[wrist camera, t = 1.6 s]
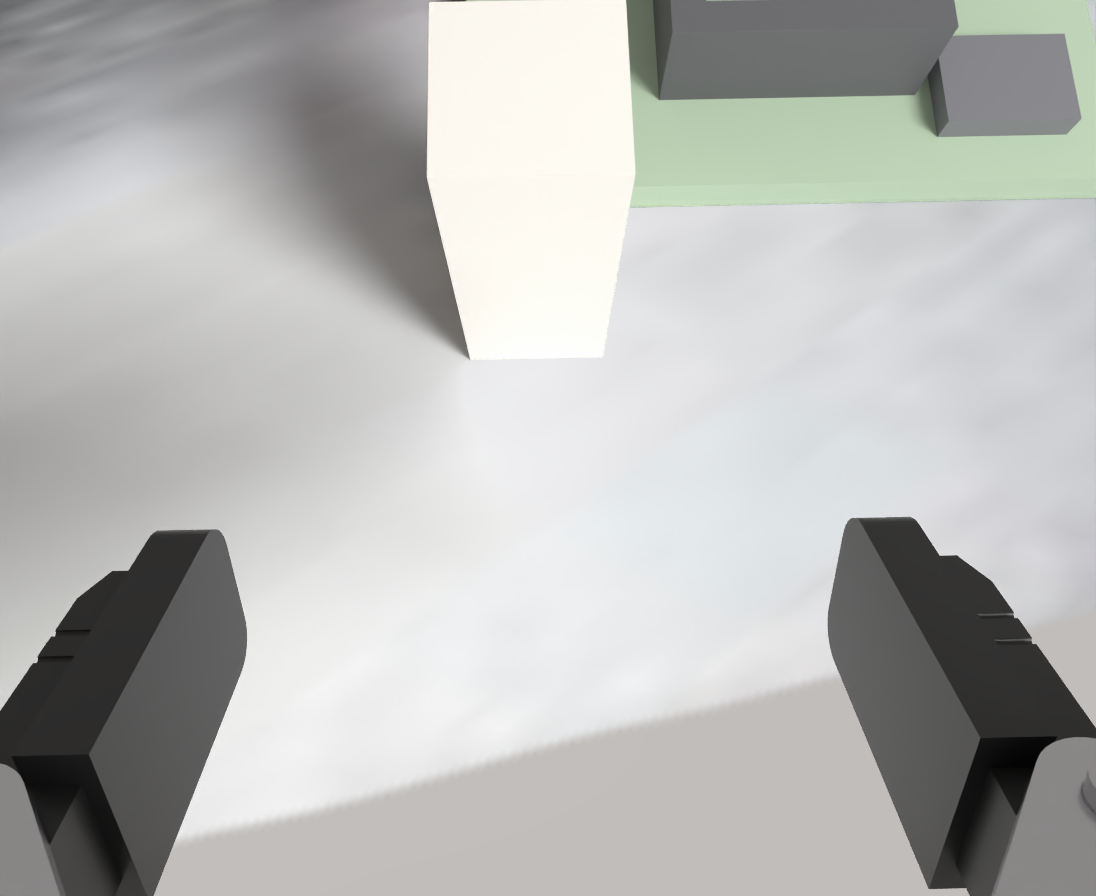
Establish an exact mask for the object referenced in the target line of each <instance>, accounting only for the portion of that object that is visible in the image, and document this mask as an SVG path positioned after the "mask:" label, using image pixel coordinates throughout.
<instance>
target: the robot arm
mask: <svg viewBox="0 0 1096 896" xmlns="http://www.w3.org/2000/svg"><path fill="white" fill-rule="evenodd" d="M1013 613H1014V612H1013V611H1012V609H1011V608H1010V606H1009V605H1008V603H1007V602H1006V601H1005V599H1004V598H1003V596H1002V595H1001V594H1000V592H999V591H998V589H997V588H996V587H995V585H994V584H993V582H992V581H991V580H989V579H988V578H987V577H985V576H984V575H982V574H981V573H980V572H978V571H977V570H976V569H974V568H973V567H972V566H970V565H969V564H968V563H966V562H965V561H964V560H962V559H961V558H960V557H958V556H957V555H955V556H939V554H938V553H937V551H936V550H935V548H934V546H933V545H932V543H931V542H930V540H929V539H928V537H927V536H926V534H925V533H924V531H923V530H922V528H921V527H920V525H919V524H918V522H917V521H916V520H915V519H913V518H911V517H886V518H852V519H850V520H849V521H848V522H847V524H846V526H845V529H844V533H843V538H842V543H841V548H840V553H839V558H838V563H837V569H836V574H835V579H834V584H833V589H832V594H831V599H830V605H829V611H828V636H829V643H830V648H831V652H832V656H833V659H834V661H835V664H836V666H837V669H838V671H839V673H840V676H841V678H842V681H843V683H844V686H845V688H846V690H847V693H848V695H849V698H850V700H851V702H852V705H853V707H854V710H855V712H856V714H857V717H858V719H859V722H860V724H861V727H862V729H863V731H864V734H865V736H866V739H867V741H868V743H869V746H870V748H871V751H872V753H873V756H874V758H875V760H876V763H877V765H878V768H879V770H880V772H881V775H882V777H883V779H884V782H885V784H886V787H887V789H888V791H889V794H890V796H891V799H892V801H893V804H894V806H895V808H896V811H897V813H898V816H899V818H900V821H901V823H902V825H903V828H904V830H905V833H906V835H907V837H908V840H909V842H910V845H911V847H912V850H913V852H914V854H915V857H916V859H917V862H918V864H919V866H920V869H921V871H922V874H923V876H924V879H925V881H926V883H927V886H928V888H929V889H945V888H946V889H947V888H967V891H968V893H969V895H970V896H1096V728H1095V726H1094V725H1093V724H1092V722H1091V721H1090V719H1089V718H1088V716H1087V715H1086V714H1085V712H1084V711H1083V709H1082V708H1081V707H1080V705H1079V704H1078V703H1077V701H1076V700H1075V698H1074V697H1073V695H1072V694H1071V692H1070V691H1069V690H1068V688H1067V687H1066V685H1065V684H1064V683H1063V682H1062V680H1061V678H1060V677H1059V675H1058V674H1057V673H1056V671H1055V670H1054V669H1053V667H1052V666H1051V664H1050V663H1049V662H1048V660H1047V659H1046V657H1045V656H1044V654H1043V653H1042V651H1041V650H1040V649H1039V647H1038V646H1037V645H1036V644H1032V641H1031V639H1032V637H1031V636H1030V635H1029V633H1028V632H1027V630H1026V629H1025V627H1024V626H1023V625H1022V623H1021V622H1020V620H1019V619H1018V618H1014V615H1013ZM246 647H247V628H246V621H245V616H244V612H243V608H242V604H241V600H240V596H239V592H238V588H237V584H236V580H235V576H234V572H233V568H232V564H231V560H230V556H229V552H228V548H227V545H226V541H225V539H224V536H223V535H222V533H221V532H220V531H219V530H168V531H156V532H154V533H153V534H152V535H151V536H150V538H149V539H148V541H147V542H146V544H145V545H144V547H143V548H142V550H141V552H140V553H139V555H138V556H137V558H136V560H135V561H134V563H133V564H132V566H131V567H130V569H129V571H112V572H111V573H109V574H108V575H107V576H105V577H104V578H103V579H102V580H100V581H99V582H98V583H96V584H95V585H94V586H93V587H91V588H90V589H89V590H88V591H86V592H85V593H84V594H82V595H81V596H80V597H79V598H77V600H76V601H75V602H74V604H73V605H72V607H71V608H70V610H69V611H68V613H67V614H66V616H65V617H64V619H63V620H62V621H61V623H60V624H59V626H58V627H57V629H56V635H55V637H51V638H50V639H49V641H48V642H47V643H46V645H45V646H44V648H43V649H42V651H41V652H40V654H39V655H38V662H37V663H33V664H32V665H31V667H30V668H29V670H28V671H27V673H26V674H25V676H24V677H23V679H22V680H21V682H20V683H19V684H18V686H17V687H16V689H15V690H14V692H13V693H12V695H11V696H10V698H9V699H8V701H7V702H6V703H5V705H4V706H3V708H2V709H1V711H0V896H153V895H154V893H155V890H156V887H157V885H158V883H159V880H160V877H161V875H162V872H163V870H164V867H165V865H166V862H167V859H168V857H169V855H170V852H171V849H172V847H173V844H174V842H175V839H176V837H177V834H178V832H179V829H180V827H181V824H182V822H183V819H184V816H185V814H186V811H187V809H188V806H189V804H190V801H191V799H192V796H193V794H194V791H195V788H196V786H197V783H198V781H199V778H200V776H201V773H202V771H203V768H204V766H205V763H206V760H207V758H208V755H209V753H210V750H211V748H212V745H213V743H214V740H215V738H216V735H217V733H218V730H219V727H220V725H221V722H222V720H223V717H224V715H225V712H226V710H227V707H228V705H229V702H230V699H231V697H232V694H233V692H234V689H235V687H236V684H237V682H238V679H239V677H240V674H241V671H242V668H243V665H244V661H245V656H246Z"/></svg>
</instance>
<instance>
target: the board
mask: <svg viewBox="0 0 1096 896" xmlns="http://www.w3.org/2000/svg"><path fill="white" fill-rule="evenodd" d="M467 1H521V0H467ZM626 8H627V26H628V44H629V63H630V81H631V99H632V117H633V136H634V154H635V172H636V174H635V180H634V185H633V191H632V196H631V202H630V207H663V206H712V205H761V204H811V203H860V202H909V201H958V200H1007V199H1057V198H1096V43H1095V38H1094V33H1093V28H1092V24H1091V19H1090V14H1089V9H1088V5H1087V0H626Z"/></svg>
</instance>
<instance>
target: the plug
mask: <svg viewBox="0 0 1096 896" xmlns="http://www.w3.org/2000/svg"><path fill="white" fill-rule="evenodd" d="M635 174H636V172H635V154H634V136H633V117H632V99H631V81H630V63H629V44H628V26H627V8H626V0H521V1H465V2H429V45H428V124H427V180H428V185H429V189H430V193H431V197H432V201H433V206H434V210H435V214H436V218H437V222H438V226H439V231H440V235H441V239H442V243H443V247H444V252H445V256H446V260H447V264H448V268H449V272H450V277H451V281H452V285H453V289H454V293H455V298H456V302H457V306H458V310H459V314H460V319H461V323H462V327H463V331H464V335H465V339H466V344H467V348H468V352H469V356H470V360H488V359H535V358H582V357H603V353H604V347H605V341H606V336H607V330H608V325H609V319H610V314H611V308H612V302H613V297H614V291H615V286H616V280H617V274H618V269H619V263H620V258H621V252H622V247H623V241H624V235H625V230H626V224H627V219H628V213H629V207H630V202H631V196H632V191H633V185H634V180H635Z"/></svg>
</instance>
